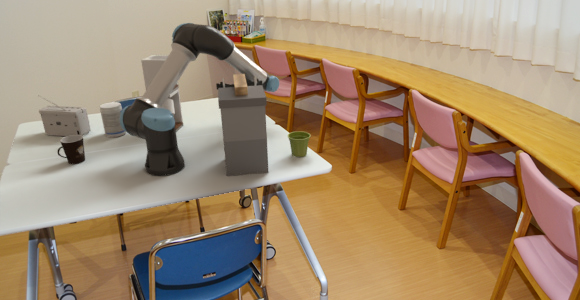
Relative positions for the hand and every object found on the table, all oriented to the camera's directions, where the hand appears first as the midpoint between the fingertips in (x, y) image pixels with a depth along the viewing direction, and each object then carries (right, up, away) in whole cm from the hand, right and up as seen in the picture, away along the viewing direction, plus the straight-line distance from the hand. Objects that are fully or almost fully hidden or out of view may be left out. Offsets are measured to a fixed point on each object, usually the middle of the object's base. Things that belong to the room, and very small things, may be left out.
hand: (239, 80), depth 190 cm
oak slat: (+2, -6, -17) cm, 18 cm away
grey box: (+4, -36, -11) cm, 38 cm away
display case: (-38, -19, +30) cm, 52 cm away
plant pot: (+25, -32, -2) cm, 40 cm away
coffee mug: (-69, -35, -3) cm, 77 cm away
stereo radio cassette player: (-86, -22, +27) cm, 93 cm away
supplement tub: (-62, -22, +25) cm, 71 cm away
